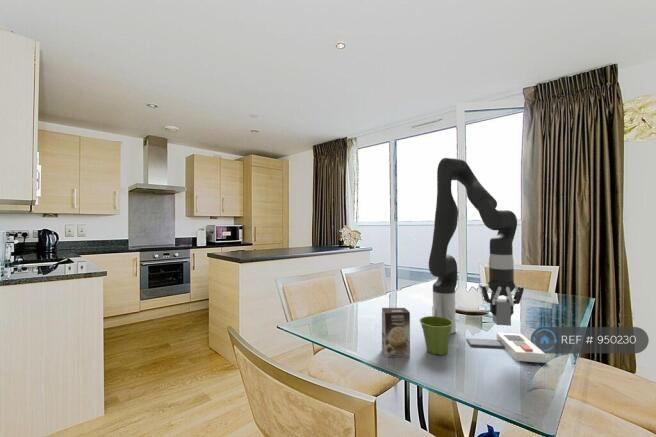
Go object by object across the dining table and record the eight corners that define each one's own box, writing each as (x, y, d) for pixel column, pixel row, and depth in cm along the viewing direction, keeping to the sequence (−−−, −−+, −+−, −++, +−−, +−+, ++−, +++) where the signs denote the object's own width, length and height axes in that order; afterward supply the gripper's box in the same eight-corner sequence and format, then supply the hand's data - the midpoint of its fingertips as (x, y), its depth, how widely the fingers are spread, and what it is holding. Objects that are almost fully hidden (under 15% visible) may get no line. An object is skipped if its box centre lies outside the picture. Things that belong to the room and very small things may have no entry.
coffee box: (385, 357, 107) (384, 312, 107) (381, 350, 113) (380, 307, 113) (410, 357, 107) (410, 312, 107) (405, 349, 114) (404, 307, 114)
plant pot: (427, 342, 120) (426, 314, 120) (457, 349, 112) (457, 319, 112) (414, 352, 111) (414, 322, 111) (447, 361, 103) (447, 329, 103)
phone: (470, 346, 115) (470, 344, 115) (466, 340, 121) (466, 338, 121) (504, 348, 113) (504, 346, 113) (498, 342, 119) (498, 339, 119)
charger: (497, 324, 104) (497, 301, 104) (492, 320, 108) (492, 298, 108) (510, 325, 103) (510, 302, 103) (505, 321, 108) (505, 298, 108)
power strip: (516, 360, 103) (516, 349, 103) (496, 339, 121) (496, 330, 121) (545, 362, 101) (545, 351, 101) (521, 341, 119) (521, 331, 119)
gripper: (482, 268, 103) (483, 317, 103) (528, 268, 101) (529, 319, 101) (476, 264, 111) (476, 310, 111) (518, 265, 108) (519, 312, 108)
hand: (501, 314), depth 106 cm, fingers closed on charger, 4 cm apart
